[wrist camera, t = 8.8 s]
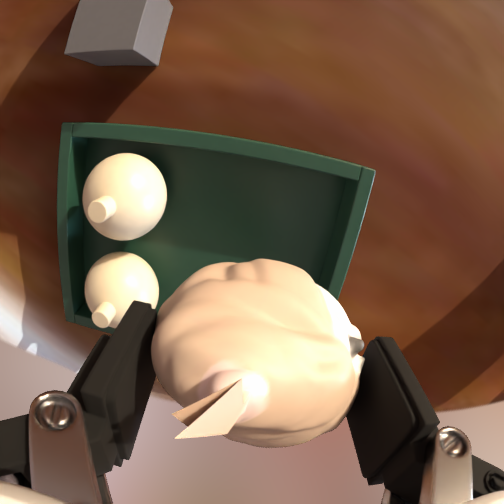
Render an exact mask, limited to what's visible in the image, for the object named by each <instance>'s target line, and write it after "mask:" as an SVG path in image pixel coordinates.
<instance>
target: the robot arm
mask: <svg viewBox="0 0 504 504" xmlns="http://www.w3.org/2000/svg"><path fill="white" fill-rule="evenodd" d="M156 319H157V310H156V309H152V305H151V304H150V303H145V302H141V301H136V300H134V301H133V302H132V303H131V305H130V306H129V308H128V310H127V311H126V313H125V314H124V316H123V318H122V319H121V321H120V323H119V324H118V326H117V327H116V329H115V331H114V332H113V334H112V336H108V335H105V334H104V335H102V336H101V337H100V338H99V340H98V341H97V343H96V345H95V346H94V348H93V349H92V351H91V353H90V354H89V356H88V357H87V359H86V361H85V362H84V364H83V366H82V367H81V369H80V371H79V372H78V374H77V376H76V377H75V379H74V381H73V382H72V384H71V386H70V388H69V389H68V391H67V393H66V392H63V391H56V390H54V391H47V392H44V393H42V394H40V395H39V396H38V397H36V398H35V399H34V400H33V402H32V404H31V406H30V411H29V414H27V415H22V416H18V417H15V418H10V419H7V420H2V421H0V504H113V502H112V498H111V494H110V491H109V487H108V483H107V479H106V475H105V473H107V472H109V471H111V470H112V467H113V465H116V466H119V467H121V466H122V462H123V459H126V460H129V459H130V456H131V453H132V450H133V447H134V443H135V440H136V437H137V433H138V430H139V427H140V424H141V421H142V417H143V414H144V411H145V408H146V405H147V402H148V399H149V396H150V393H151V390H152V387H153V384H154V381H155V377H156V373H155V371H154V367H153V363H152V357H151V345H152V339H153V335H154V333H155V325H156ZM363 358H365V360H364V364H363V367H362V370H361V373H360V385H359V390H358V393H357V396H356V398H355V401H354V403H353V405H352V407H351V409H350V410H349V412H348V414H347V415H346V417H347V420H348V424H349V427H350V431H351V434H352V438H353V441H354V445H355V449H356V453H357V457H358V460H359V464H360V468H361V472H362V475H363V477H364V478H367V481H368V485H375V484H382V483H383V482H384V486H385V490H384V494H383V498H382V503H381V504H504V472H503V471H502V470H501V469H499V468H497V467H495V466H493V465H491V464H489V463H487V462H485V461H483V460H481V459H480V458H478V457H476V456H474V455H472V453H471V445H470V441H469V439H468V437H467V436H466V435H465V434H464V433H463V432H462V431H461V430H459V429H457V428H455V427H449V426H447V427H443V428H441V429H440V430H438V428H437V425H438V424H439V423H440V421H439V419H438V417H437V415H436V413H435V411H434V409H433V408H432V406H431V404H430V402H429V400H428V398H427V396H426V395H425V393H424V391H423V389H422V387H421V385H420V384H419V382H418V380H417V378H416V377H415V375H414V373H413V371H412V370H411V368H410V366H409V364H408V363H407V361H406V359H405V357H404V356H403V354H402V352H401V351H400V349H399V347H398V346H397V344H396V342H395V341H394V339H393V338H391V337H379V336H378V337H376V338H375V339H374V340H371V341H370V342H369V344H368V346H367V348H366V350H365V352H364V354H363Z"/></svg>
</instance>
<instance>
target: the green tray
mask: <svg viewBox="0 0 504 504" xmlns="http://www.w3.org/2000/svg"><path fill="white" fill-rule="evenodd" d="M121 153H132V154H137V155H140V156H142V157H144V158H146V159H148V160H149V161H151V162H152V163H153V164H154V165H155V166H156V167H157V168H158V169H159V171H160V172H161V174H162V176H163V178H164V181H165V184H166V189H167V201H166V206H165V210H164V213H163V215H162V217H161V219H160V220H159V222H158V223H157V224H156V225H155V227H154V228H153V229H151V230H150V231H149V232H148V233H146V234H145V235H143V236H141V237H139V238H136V239H133V240H122V241H120V240H114V239H111V238H108V237H105V236H104V235H102V234H100V233H99V232H98V231H97V230H96V229H94V227H93V226H92V225H91V224H90V222H89V221H88V219H87V217H86V214H85V212H84V208H83V198H82V197H83V189H84V185H85V182H86V180H87V178H88V176H89V174H90V173H91V171H92V170H93V169H94V168H95V166H96V165H98V164H99V163H100V162H101V161H103V160H104V159H106V158H108V157H110V156H113V155H116V154H121ZM374 176H375V170H374V169H371V168H368V167H365V166H362V165H359V164H355V163H351V162H348V161H344V160H340V159H336V158H332V157H328V156H324V155H320V154H316V153H312V152H308V151H303V150H299V149H294V148H290V147H285V146H280V145H275V144H270V143H265V142H260V141H255V140H249V139H243V138H238V137H232V136H225V135H219V134H212V133H205V132H198V131H190V130H182V129H174V128H164V127H154V126H143V125H130V124H115V123H94V122H63V123H62V129H61V138H60V148H59V162H58V181H57V234H58V253H59V267H60V278H61V287H62V295H63V303H64V310H65V317H66V321H69V322H72V323H76V324H79V325H82V326H86V327H89V328H93V329H96V330H100V331H103V332H107V333H111V334H113V332H114V331H115V329H116V328H112V327H109V326H108V327H106V328H100V327H98V326H97V325H95V324H94V322H93V320H92V312H91V310H90V309H89V307H88V304H87V302H86V298H85V281H86V277H87V274H88V272H89V270H90V269H91V267H92V266H93V265H94V263H95V262H96V261H97V260H99V259H100V258H101V257H103V256H105V255H107V254H110V253H113V252H129V253H132V254H135V255H137V256H139V257H141V258H142V259H144V260H145V261H146V262H147V263H148V264H149V265H150V266H151V268H152V269H153V271H154V273H155V275H156V277H157V280H158V285H159V297H158V302H157V305H156V308H155V309H156V310H157V315H158V312H159V309H160V307H161V306H162V304H163V303H164V302H165V301H166V300H167V299H168V298H169V297H170V296H172V294H173V293H174V292H175V291H176V289H177V288H178V287H179V286H180V285H181V284H182V283H183V282H184V281H185V280H186V279H187V278H189V277H190V276H191V275H192V274H194V273H195V272H196V271H198V270H199V269H201V268H203V267H206V266H208V265H212V264H216V263H222V262H234V263H243V262H250V261H253V260H255V259H269V260H275V261H280V262H284V263H288V264H291V265H294V266H296V267H299V268H301V269H302V270H304V271H305V272H306V273H308V274H309V275H310V277H311V278H312V279H313V281H314V283H315V284H317V285H319V286H321V287H322V288H324V289H325V290H326V291H328V292H329V293H330V294H331V295H332V296H333V297H334V298H335V299H336V300H338V297H339V295H340V292H341V289H342V286H343V283H344V280H345V277H346V274H347V271H348V268H349V264H350V261H351V258H352V255H353V252H354V248H355V245H356V242H357V239H358V235H359V232H360V228H361V225H362V221H363V218H364V214H365V211H366V207H367V203H368V199H369V196H370V192H371V188H372V184H373V180H374Z"/></svg>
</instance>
